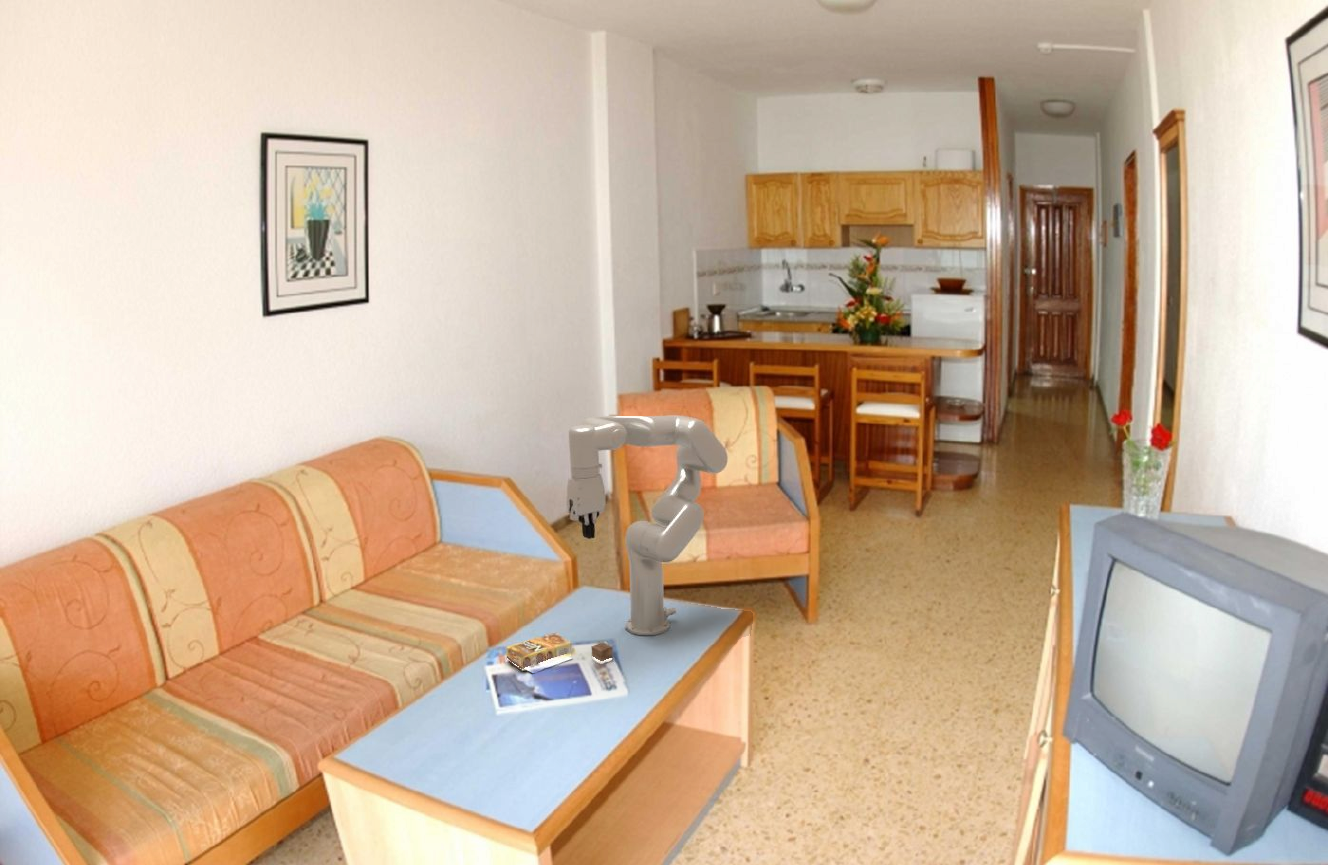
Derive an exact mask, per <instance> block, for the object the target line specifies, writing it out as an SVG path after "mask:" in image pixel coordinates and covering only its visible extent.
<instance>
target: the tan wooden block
mask: <svg viewBox="0 0 1328 865" xmlns="http://www.w3.org/2000/svg"><path fill="white" fill-rule="evenodd" d="M613 649H614V646H612V645H610V644H608V643H606V642H604V641H603V642H601V643H597V644H594V645H592V646H591V657H592V656H593V657H595V658H596V659H598V660H600V661H604V660H606V659H609V658H613V659H614V650H613Z"/></svg>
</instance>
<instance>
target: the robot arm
mask: <svg viewBox="0 0 1328 865" xmlns="http://www.w3.org/2000/svg"><path fill="white" fill-rule="evenodd" d="M568 444H569V445H568V446H569V460H570V475H571V476H570V477H568V481H567V484H566V485H567V486H566V487H567V488H566V511H567V513H568V514H570V515H569V519H570V520H571V521H578V522H579V523H580V524H581V529H582V530H581V531H582V536H583V537H584V538H586V539H588V540H591V539H594V538H595V537H596V535H595V533H596V530H595V528H596V527H595V523H596V522H597V520H598V518H599V516H600V515H602V514H603V513H605V512H606V509H605V507H606V502H607V501H606V491H605V486H604V480H603V477H602V474H601V473H600V469H602V468H603V464H602V463H600V461H599V457H600V456H599V452H600V451H613V450H617V449H619V448H621V447H623V446H624V444H625V445H628V446H633V447H634V446H635V447H643V448H646V447H647V448H650V447H660V446H661V447H662V446H664V447H665V446H677V449H676V466H677V467H676V473H675V474H676V475H675V477H674V480H672V482H671V484H670V485H669V486H668V487H667V488H666V489H665V491H664V492H663V493H662V494H661V495H660V497H659V498H658V499H657V500H656V502H655V503H654V505H653V507H652V508H651V512H650V513H651V515H650V516H651V518H652V520H653V522H650V521H646V520H637V521H635V522H633V523H631V524H630V525H629V526H628V528H627V530H626V532H625V538H624V540H625V541H624V542H625V548H626V551H627V556H628V562H629V564H628V565H629V592H630V593H629V594H630V619H628V620H627V621H626V622H625V629H626V631H628V632H629V633H631V634H634V635H638V636H657V635H660V634H663V633H665V632H666V631H668V629H669V628H670V620H668V619H667V618H668V617H669V616H673V615H674V614H677V610H676V608H675V607H674V606H673V607H670V608H667V607H665V606H664V604H665V603H664V601H665V600H664V567H663V563H670V562H673V561H674V560H675V559H677V558H678V557H679V556H680V555H681V554H682V552H683V551H684V550H685V548H686V547H687V546H688V545H689V543H690V542H691V541H692V540H693V538H694V537H695V536H696V534H697V533H698V532H699V530H700V528H701V527H702V524H703V522H704V509H703V508H702V506H701V505H700V503H698V502H696V500H697V499H698V497H699V495H700V493H701V490H702V479H701V478H702V476H701V472H703V473H706V474H707V473H708V474H714V475H715V474H719V473H721V472H722V471H724V469H725V468H726V467H727V464H728V459H729V458H728V453H727V450H726V448H725V446H724V445H723V444H722V442H721V441H720V440H719V439H718V437H717V436H716V435H715V433H714V431H713V430H712V429H711V428H710V427H709V426H708V425H707V424H706V423H705V422H704V421H702V420H701V419H699V418H695V417H691V416H685V415H678V414H676V415H675V414H669V415H668V414H667V415H650V416H649V415H647V416H645V415H644V416H641V415H631V416H630V415H629V416H625V415H623V416H620V415H614V416H613V415H604V416H603V415H602V416H590V417H588V418H586V419H585V420H583V421H582V423H581V424H577V425H573V426H572V427H570V428H569V430H568ZM654 522H655V523H654Z"/></svg>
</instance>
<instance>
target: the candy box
mask: <svg viewBox="0 0 1328 865" xmlns="http://www.w3.org/2000/svg"><path fill="white" fill-rule="evenodd" d="M505 649H506V653H505V654H506V659H507V658H508V659H509V660H510V661H511V662H513V663H514V664H516V665H517V666H519V668H521V669H524V668H525V667H528V666H531V665H533V664H538V663H540V662H543V661H546V660H548V659H551V658H554V657H557V656H560V655H564V654H567V653H571V652H572V642H570V640H568V639H566V638H565V637H563V636H562V635H560V634H558V633H557V632H552V633H549V634H546V635H541V636H538V637H535V638H531V639H528V640H525V641H522V642H518V643H515V644H511V645H508V646H505ZM511 662H510V663H511ZM519 668H518V669H519Z"/></svg>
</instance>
